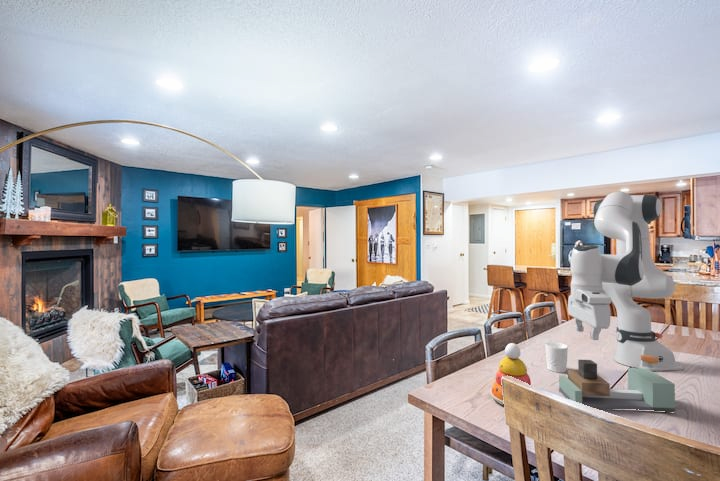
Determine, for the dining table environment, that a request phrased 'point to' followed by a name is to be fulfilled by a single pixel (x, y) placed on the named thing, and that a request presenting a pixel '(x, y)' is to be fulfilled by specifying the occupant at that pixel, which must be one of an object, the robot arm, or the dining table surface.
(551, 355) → the white cup
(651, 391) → the rail base
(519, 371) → the stacking toy
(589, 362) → the carriage
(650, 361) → the gauge button
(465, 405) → the dining table surface
